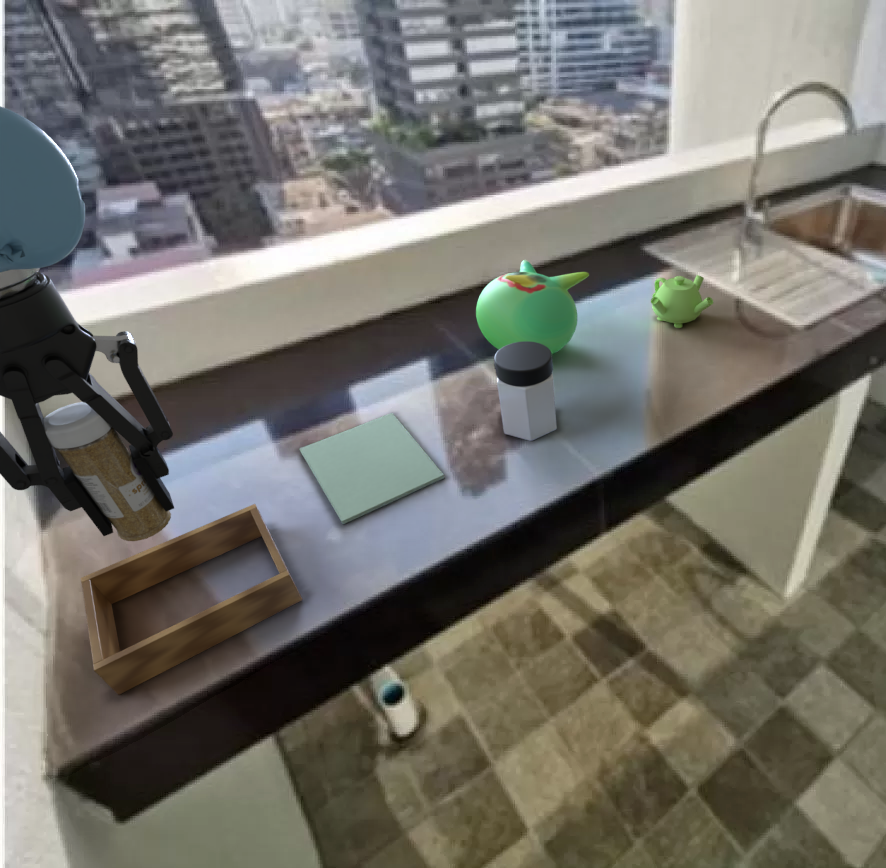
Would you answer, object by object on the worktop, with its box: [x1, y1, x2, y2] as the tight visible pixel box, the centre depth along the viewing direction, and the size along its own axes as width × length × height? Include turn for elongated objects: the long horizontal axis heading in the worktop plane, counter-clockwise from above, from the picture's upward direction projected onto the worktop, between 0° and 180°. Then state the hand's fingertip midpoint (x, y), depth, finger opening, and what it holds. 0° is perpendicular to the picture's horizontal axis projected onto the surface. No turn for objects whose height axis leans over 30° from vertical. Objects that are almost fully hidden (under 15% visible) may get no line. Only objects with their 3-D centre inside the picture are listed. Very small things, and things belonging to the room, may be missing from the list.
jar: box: [493, 341, 558, 442], centre depth 88 cm, size 9×8×12 cm
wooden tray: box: [80, 503, 303, 696], centre depth 66 cm, size 18×14×4 cm
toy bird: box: [475, 259, 590, 355], centre depth 104 cm, size 18×17×15 cm
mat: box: [299, 412, 445, 525], centre depth 85 cm, size 18×14×1 cm
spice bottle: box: [44, 401, 172, 542], centre depth 55 cm, size 5×5×13 cm
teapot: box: [650, 274, 714, 329], centre depth 115 cm, size 11×12×8 cm
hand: (137, 513), depth 58 cm, fingers closed on spice bottle, 4 cm apart
